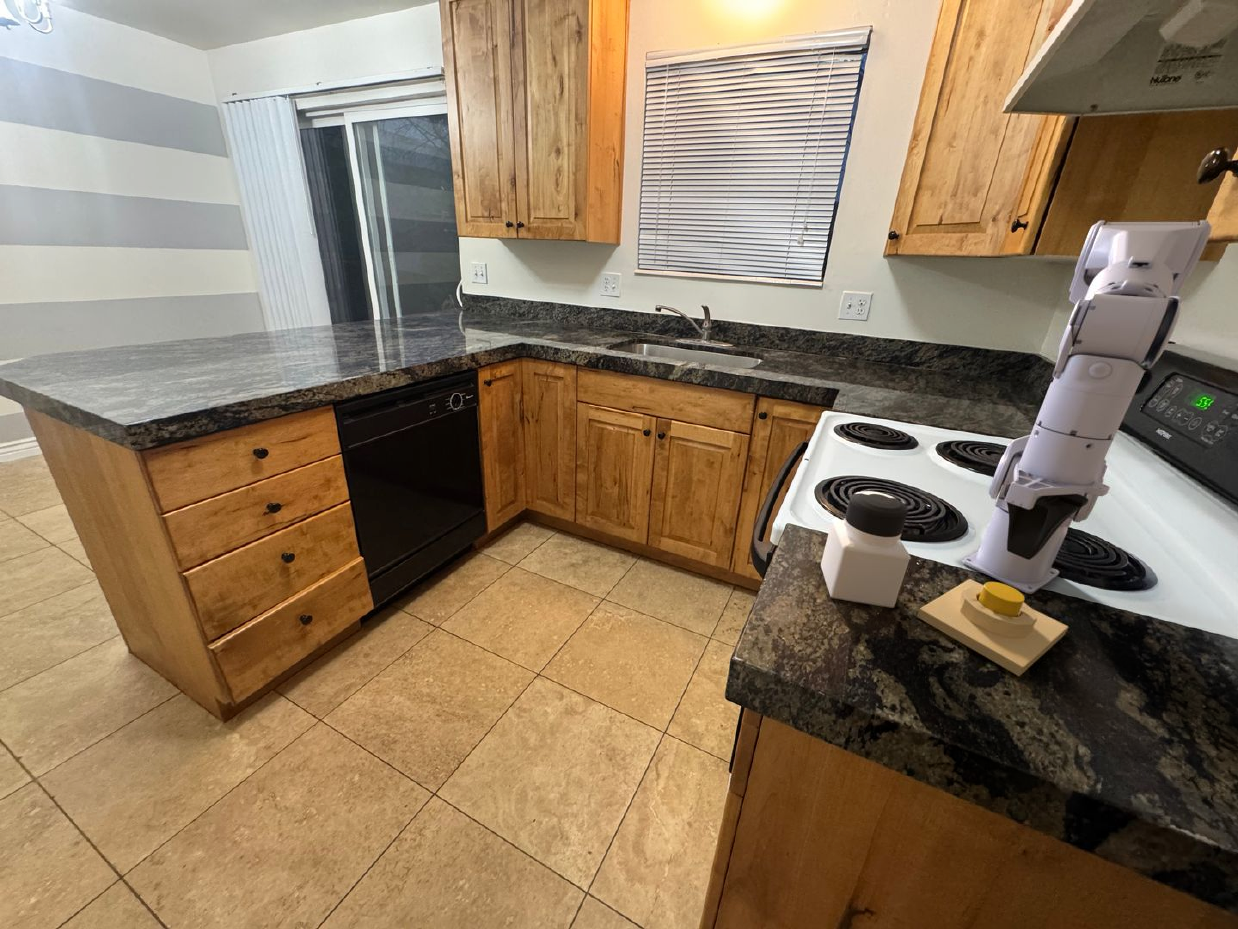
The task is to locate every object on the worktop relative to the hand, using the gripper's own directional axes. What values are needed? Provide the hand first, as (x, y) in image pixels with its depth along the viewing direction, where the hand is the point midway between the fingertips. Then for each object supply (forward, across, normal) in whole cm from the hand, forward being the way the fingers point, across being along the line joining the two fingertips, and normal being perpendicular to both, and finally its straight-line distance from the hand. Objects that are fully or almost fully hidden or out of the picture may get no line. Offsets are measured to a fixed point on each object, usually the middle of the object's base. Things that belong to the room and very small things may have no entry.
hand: (1020, 553), depth 52 cm
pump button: (+7, 0, 0) cm, 7 cm away
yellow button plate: (+9, 0, 0) cm, 9 cm away
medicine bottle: (+10, -7, +12) cm, 17 cm away
